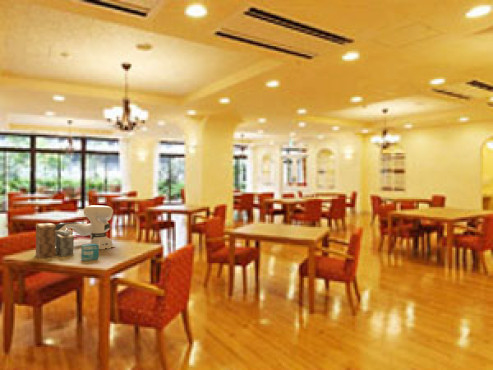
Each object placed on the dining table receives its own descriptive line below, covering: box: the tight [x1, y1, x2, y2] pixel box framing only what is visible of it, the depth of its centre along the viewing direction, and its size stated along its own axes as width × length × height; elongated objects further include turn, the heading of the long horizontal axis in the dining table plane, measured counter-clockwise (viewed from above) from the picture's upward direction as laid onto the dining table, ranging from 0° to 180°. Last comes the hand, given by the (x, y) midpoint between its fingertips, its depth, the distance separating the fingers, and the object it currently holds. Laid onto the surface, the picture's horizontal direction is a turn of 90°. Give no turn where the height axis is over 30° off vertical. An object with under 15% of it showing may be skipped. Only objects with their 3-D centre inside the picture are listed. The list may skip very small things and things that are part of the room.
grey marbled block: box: [55, 234, 75, 257], centre depth 305 cm, size 10×13×16 cm
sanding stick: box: [58, 230, 70, 236], centre depth 308 cm, size 4×22×3 cm, turn 42°
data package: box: [80, 243, 100, 262], centre depth 288 cm, size 12×4×12 cm, turn 128°
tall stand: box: [35, 222, 57, 259], centre depth 295 cm, size 11×13×26 cm
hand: (61, 230), depth 311 cm, fingers open, 7 cm apart
